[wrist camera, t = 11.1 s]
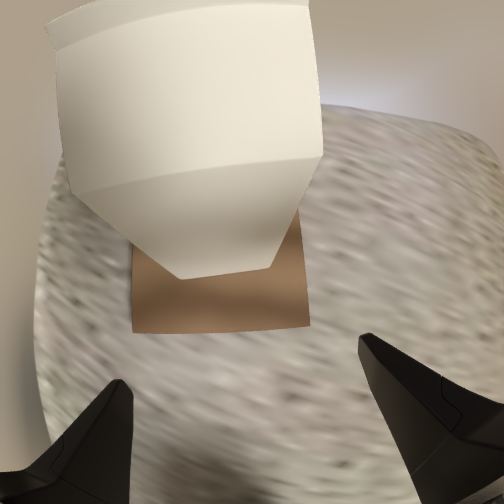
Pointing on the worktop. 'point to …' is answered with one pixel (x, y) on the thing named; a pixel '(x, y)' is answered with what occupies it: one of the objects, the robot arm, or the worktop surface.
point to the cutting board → (223, 295)
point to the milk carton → (190, 124)
